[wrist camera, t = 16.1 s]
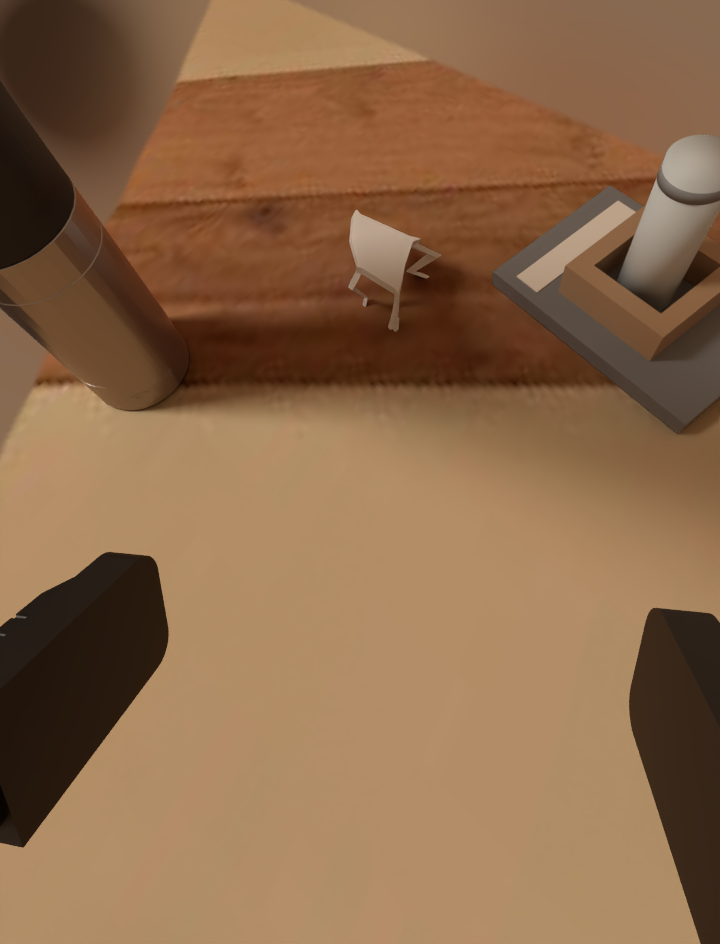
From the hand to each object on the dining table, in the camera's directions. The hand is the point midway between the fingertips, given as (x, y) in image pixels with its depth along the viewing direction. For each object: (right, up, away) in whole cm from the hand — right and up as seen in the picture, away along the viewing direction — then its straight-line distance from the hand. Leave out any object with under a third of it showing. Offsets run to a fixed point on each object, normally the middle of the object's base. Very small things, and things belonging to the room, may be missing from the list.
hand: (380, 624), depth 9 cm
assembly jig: (+23, +17, +37) cm, 47 cm away
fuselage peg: (+23, +17, +36) cm, 46 cm away
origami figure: (+2, +20, +42) cm, 47 cm away
